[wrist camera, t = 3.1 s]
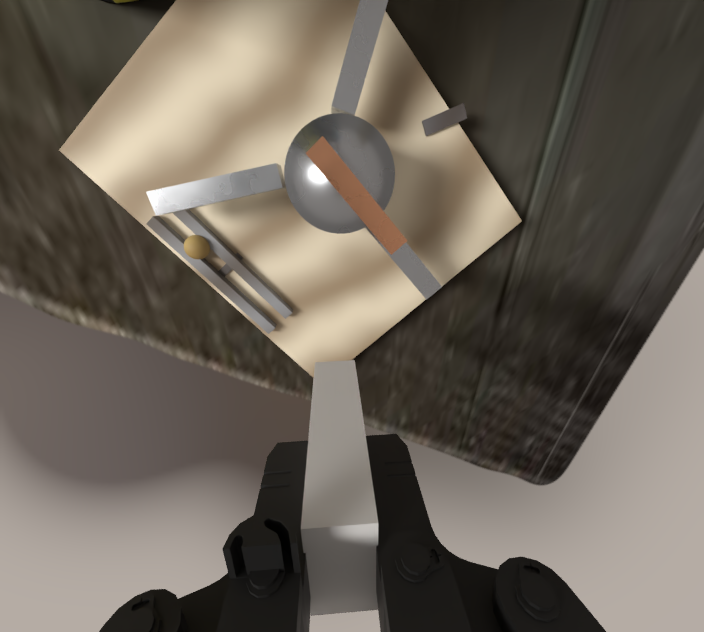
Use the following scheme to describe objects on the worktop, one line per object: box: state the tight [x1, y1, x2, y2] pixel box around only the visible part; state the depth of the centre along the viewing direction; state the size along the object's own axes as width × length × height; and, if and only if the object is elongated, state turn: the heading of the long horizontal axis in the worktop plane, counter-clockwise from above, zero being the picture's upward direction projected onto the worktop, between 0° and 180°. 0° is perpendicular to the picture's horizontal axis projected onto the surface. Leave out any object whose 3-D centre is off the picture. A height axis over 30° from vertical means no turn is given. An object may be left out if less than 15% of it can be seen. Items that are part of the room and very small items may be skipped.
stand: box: [59, 0, 522, 378], centre depth 24 cm, size 26×23×4 cm
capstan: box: [146, 0, 442, 300], centre depth 21 cm, size 17×20×7 cm
